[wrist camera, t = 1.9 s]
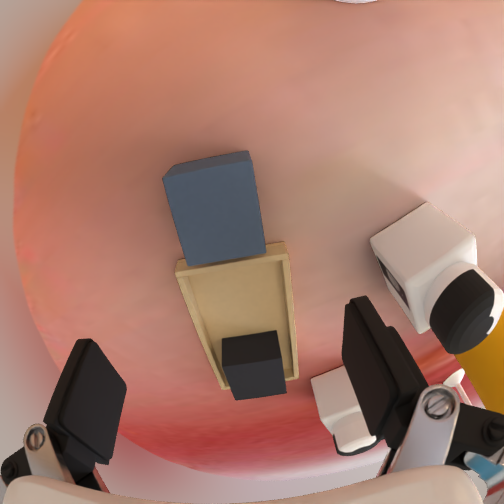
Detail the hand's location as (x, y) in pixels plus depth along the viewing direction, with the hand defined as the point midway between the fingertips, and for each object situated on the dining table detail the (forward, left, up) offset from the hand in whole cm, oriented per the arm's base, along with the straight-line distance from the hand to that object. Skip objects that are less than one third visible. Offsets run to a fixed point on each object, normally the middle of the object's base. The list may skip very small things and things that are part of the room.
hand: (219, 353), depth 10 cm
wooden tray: (+13, 0, -15) cm, 21 cm away
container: (+7, +18, -16) cm, 25 cm away
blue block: (-1, 0, -15) cm, 15 cm away
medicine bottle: (+28, +11, -16) cm, 34 cm away
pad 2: (+18, 0, -15) cm, 23 cm away
